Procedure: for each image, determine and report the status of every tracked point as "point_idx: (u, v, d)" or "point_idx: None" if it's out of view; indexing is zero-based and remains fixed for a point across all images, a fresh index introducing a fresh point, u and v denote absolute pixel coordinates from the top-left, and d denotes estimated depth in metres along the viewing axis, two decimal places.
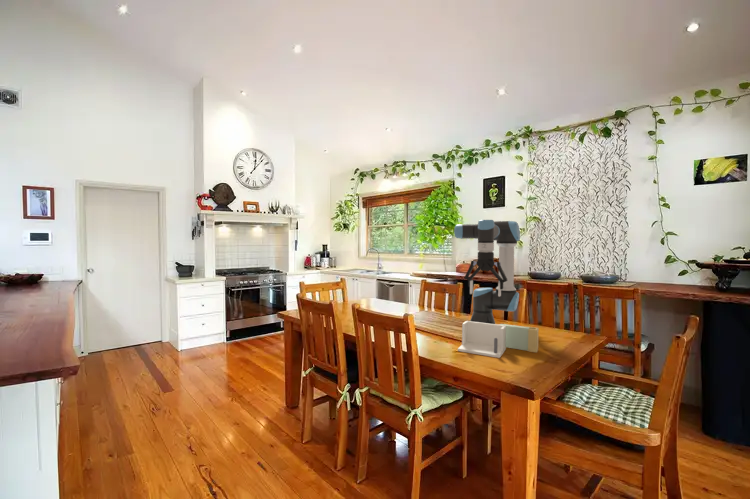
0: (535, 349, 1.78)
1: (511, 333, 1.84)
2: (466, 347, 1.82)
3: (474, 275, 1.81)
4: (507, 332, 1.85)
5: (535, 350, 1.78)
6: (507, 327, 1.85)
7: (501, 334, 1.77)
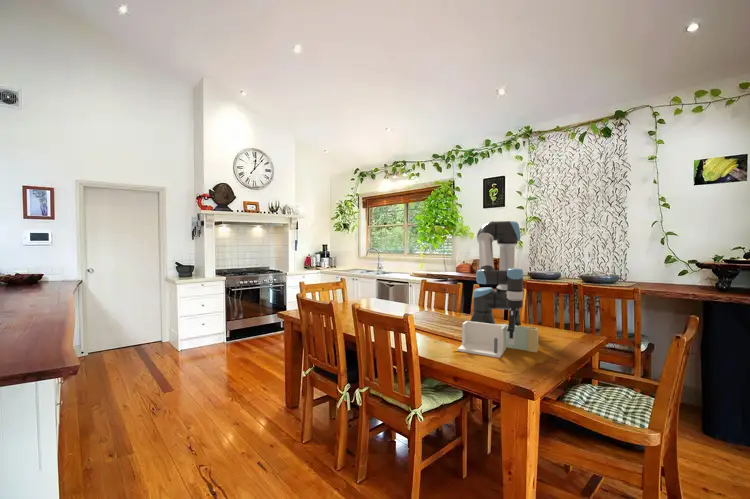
0: (535, 349, 1.78)
1: None
2: (466, 347, 1.82)
3: None
4: (507, 332, 1.85)
5: (535, 350, 1.78)
6: (507, 327, 1.85)
7: (501, 334, 1.77)
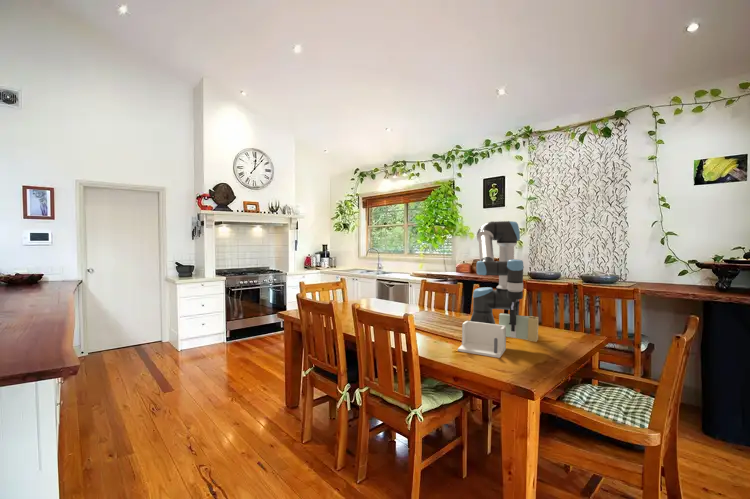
0: (535, 338, 1.78)
1: None
2: (466, 347, 1.82)
3: None
4: (507, 321, 1.85)
5: (535, 339, 1.78)
6: (507, 316, 1.85)
7: (501, 334, 1.77)
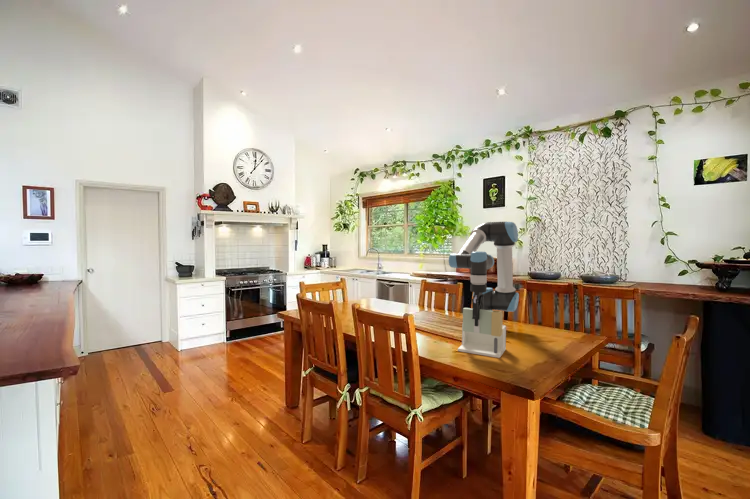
0: (498, 333, 1.71)
1: None
2: (466, 347, 1.82)
3: None
4: (471, 316, 1.78)
5: (498, 334, 1.71)
6: (471, 311, 1.78)
7: None
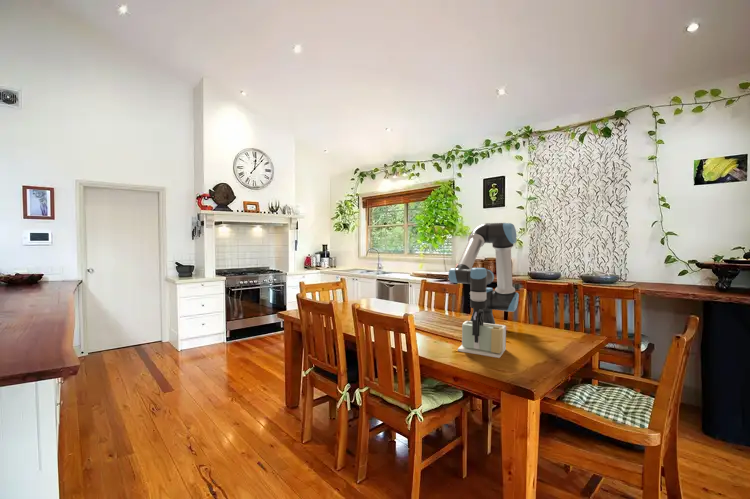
0: (498, 350, 1.71)
1: None
2: (466, 347, 1.82)
3: None
4: (471, 332, 1.78)
5: (498, 351, 1.71)
6: (471, 327, 1.78)
7: None
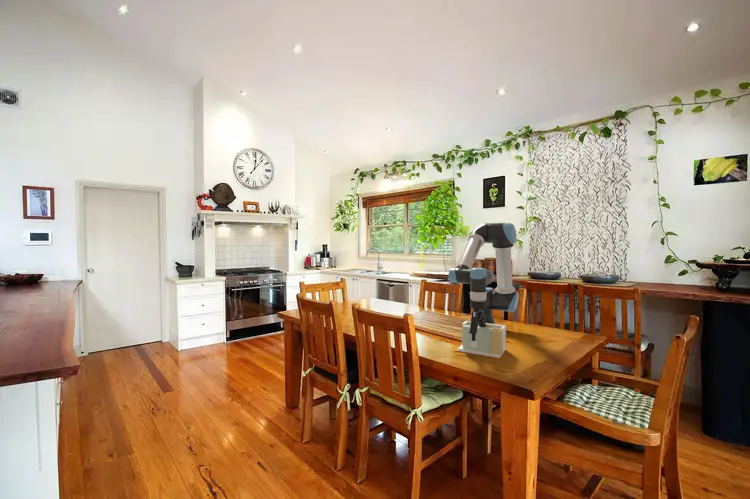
0: (498, 351, 1.71)
1: None
2: None
3: (479, 322, 1.83)
4: None
5: (498, 352, 1.71)
6: None
7: None
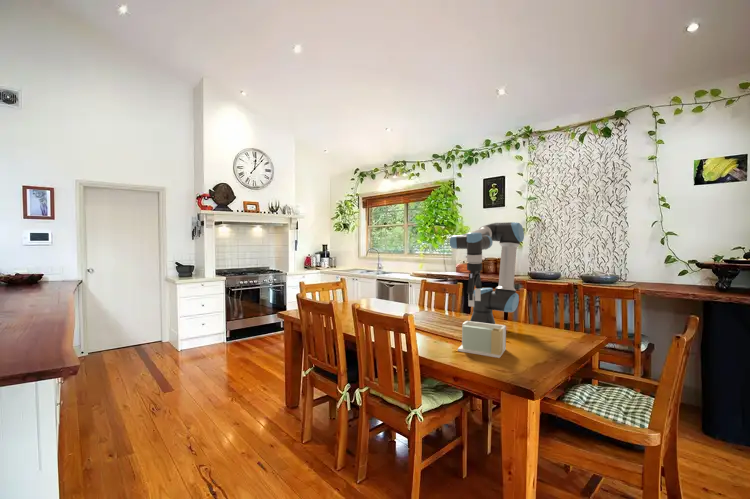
0: (498, 351, 1.71)
1: (475, 335, 1.78)
2: None
3: (476, 284, 1.94)
4: (471, 334, 1.79)
5: (498, 352, 1.71)
6: (471, 328, 1.78)
7: None
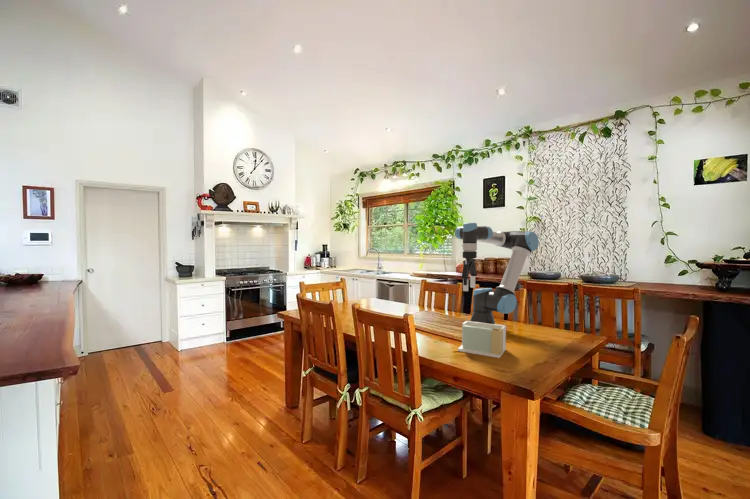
0: (498, 351, 1.71)
1: (475, 335, 1.78)
2: None
3: (471, 271, 2.07)
4: (471, 334, 1.79)
5: (498, 352, 1.71)
6: (471, 328, 1.78)
7: None
